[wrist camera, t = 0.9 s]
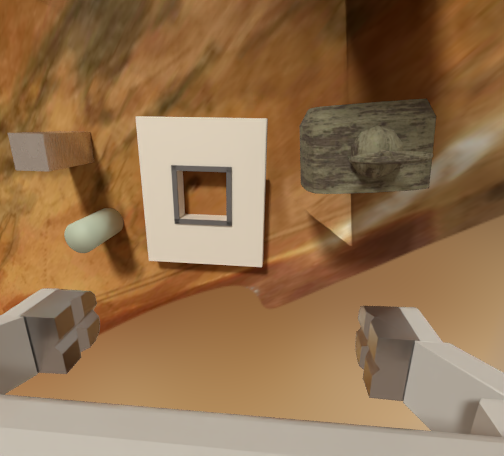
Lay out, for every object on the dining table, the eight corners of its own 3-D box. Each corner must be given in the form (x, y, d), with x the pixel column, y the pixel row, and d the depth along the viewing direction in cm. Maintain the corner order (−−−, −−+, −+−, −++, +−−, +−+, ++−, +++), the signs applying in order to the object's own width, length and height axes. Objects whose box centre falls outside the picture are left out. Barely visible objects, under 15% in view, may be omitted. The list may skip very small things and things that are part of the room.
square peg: (61, 131, 53) (7, 133, 43) (90, 131, 53) (42, 133, 42) (66, 161, 55) (15, 170, 44) (94, 162, 54) (49, 171, 44)
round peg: (95, 207, 57) (61, 221, 48) (121, 208, 56) (93, 223, 48) (99, 233, 58) (67, 252, 50) (125, 234, 58) (97, 253, 50)
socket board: (143, 116, 51) (134, 116, 48) (267, 118, 49) (266, 118, 46) (155, 254, 59) (148, 261, 55) (263, 260, 57) (262, 267, 54)
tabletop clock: (297, 172, 51) (308, 213, 28) (296, 113, 49) (307, 102, 25) (390, 167, 50) (486, 206, 26) (394, 105, 47) (505, 87, 23)
